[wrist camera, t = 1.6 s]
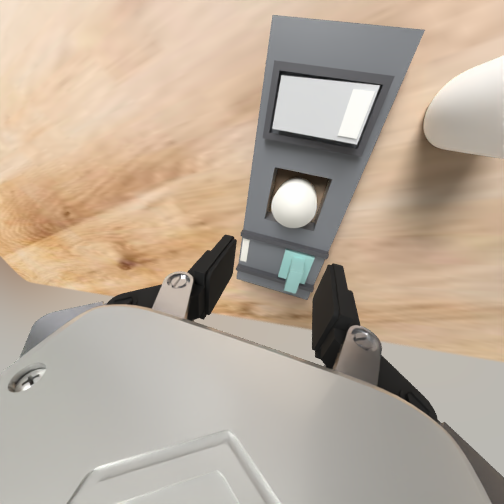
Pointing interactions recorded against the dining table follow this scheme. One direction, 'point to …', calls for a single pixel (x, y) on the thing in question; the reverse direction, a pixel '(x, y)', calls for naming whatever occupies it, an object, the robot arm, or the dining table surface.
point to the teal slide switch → (295, 269)
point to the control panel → (315, 148)
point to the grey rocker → (323, 107)
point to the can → (470, 112)
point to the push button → (295, 203)
